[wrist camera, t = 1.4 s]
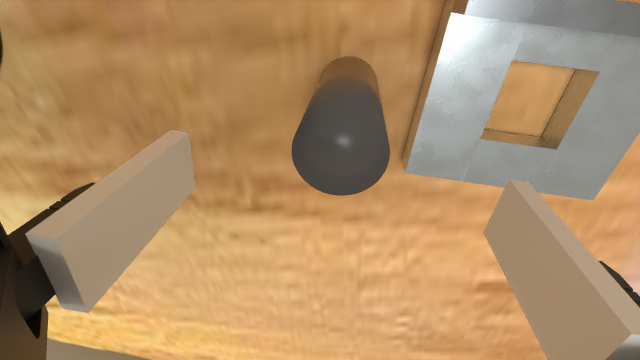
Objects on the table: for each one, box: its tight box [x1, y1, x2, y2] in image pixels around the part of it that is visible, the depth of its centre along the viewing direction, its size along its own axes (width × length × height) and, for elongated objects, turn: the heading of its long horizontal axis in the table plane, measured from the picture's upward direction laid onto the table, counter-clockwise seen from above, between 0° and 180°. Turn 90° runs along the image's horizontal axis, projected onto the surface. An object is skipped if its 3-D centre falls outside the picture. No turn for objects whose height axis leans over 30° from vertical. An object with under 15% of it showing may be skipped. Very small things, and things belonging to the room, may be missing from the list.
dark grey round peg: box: [292, 57, 390, 195], centre depth 21 cm, size 5×5×13 cm
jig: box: [402, 0, 640, 200], centre depth 23 cm, size 16×14×6 cm
